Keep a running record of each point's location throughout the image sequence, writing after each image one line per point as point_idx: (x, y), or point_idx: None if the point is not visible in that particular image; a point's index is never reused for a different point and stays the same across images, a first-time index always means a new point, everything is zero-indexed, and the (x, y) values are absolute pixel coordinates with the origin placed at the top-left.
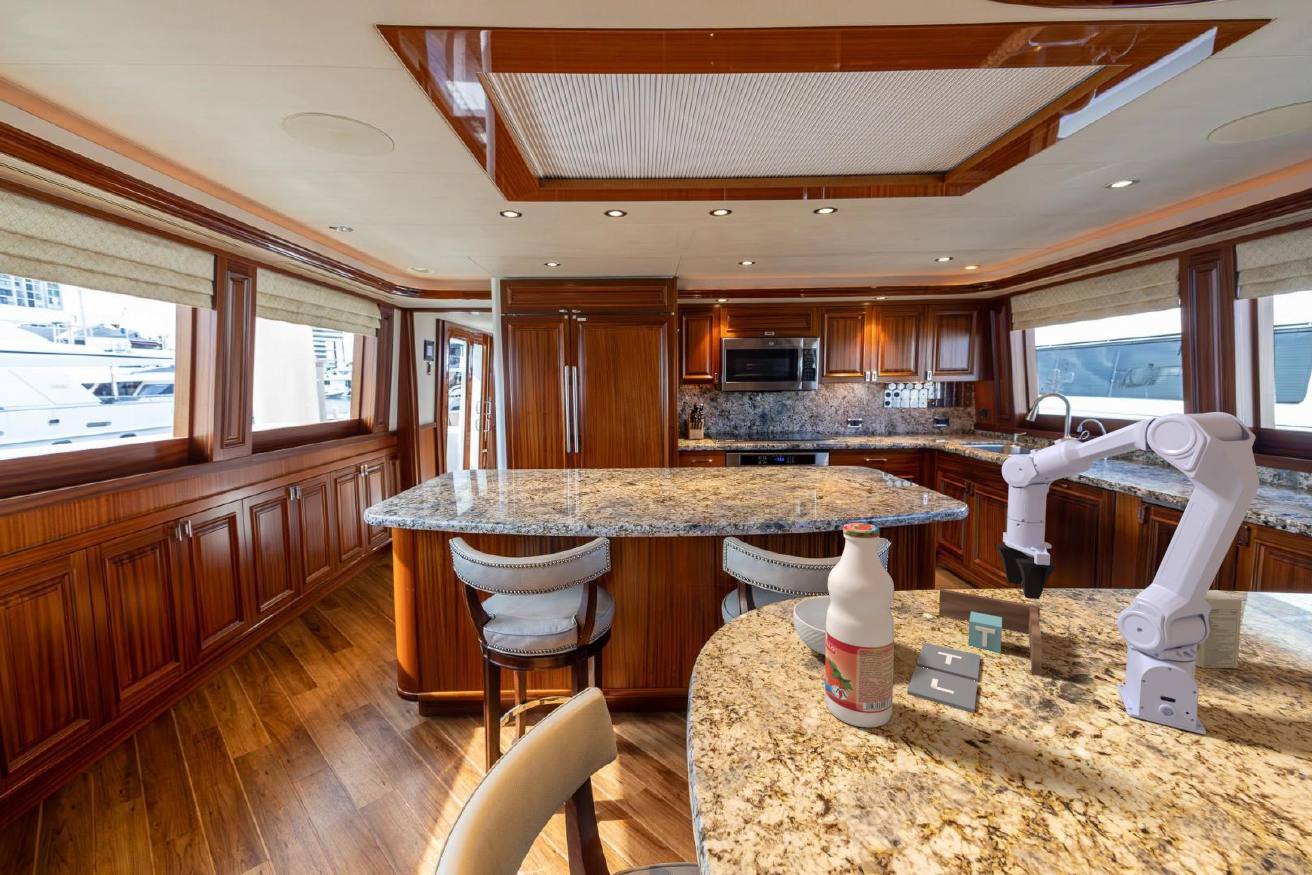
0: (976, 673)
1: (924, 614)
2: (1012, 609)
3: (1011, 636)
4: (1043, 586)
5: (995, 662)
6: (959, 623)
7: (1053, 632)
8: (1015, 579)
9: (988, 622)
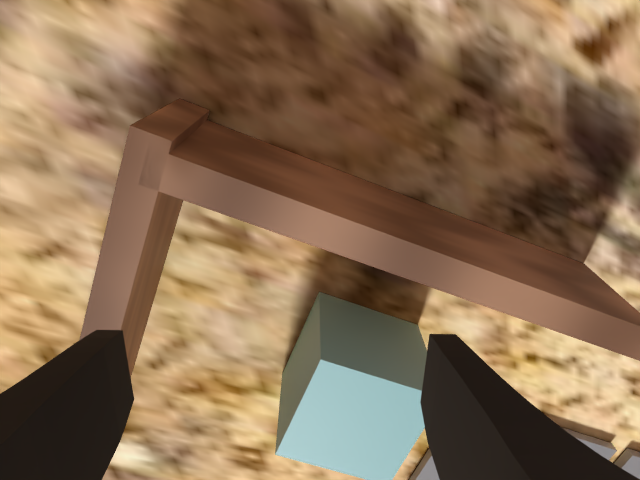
0: (587, 445)
1: (121, 462)
2: (150, 252)
3: (247, 231)
4: (523, 400)
5: (488, 362)
6: (169, 376)
7: (135, 7)
8: (113, 386)
9: (394, 427)
